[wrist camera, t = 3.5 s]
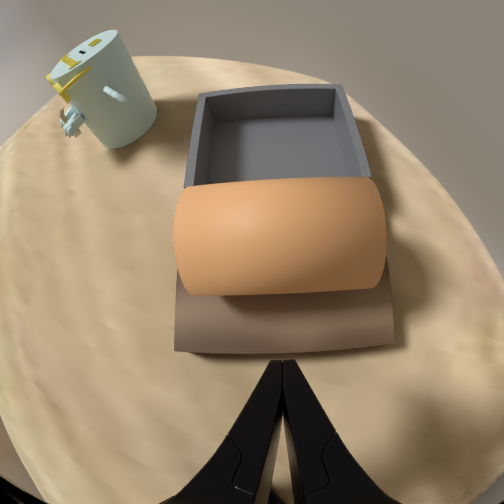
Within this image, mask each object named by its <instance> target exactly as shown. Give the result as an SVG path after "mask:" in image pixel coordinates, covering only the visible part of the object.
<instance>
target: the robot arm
mask: <svg viewBox="0 0 504 504" xmlns="http://www.w3.org/2000/svg"><path fill="white" fill-rule="evenodd" d="M282 417H283V420H284V428H285V435H286V443H287V450H288V458H289V466H290V473H291V481H292V489H293V497H294V504H402V503H400V502H398V501H396V500H394V499H393V498H391V497H389V496H388V495H387V494H385V493H384V492H383V491H382V490H381V489H380V488H379V487H378V486H377V485H376V484H375V483H374V481H373V480H372V479H371V478H370V477H369V476H368V474H367V473H366V472H365V471H364V470H363V469H362V467H361V466H360V465H359V464H358V463H357V461H356V460H355V459H354V457H353V456H352V455H351V454H350V452H349V451H348V449H347V448H346V446H345V445H344V443H343V442H342V440H341V438H340V437H339V435H338V433H337V432H336V430H335V428H334V427H333V425H332V423H331V421H330V420H329V418H328V416H327V415H326V413H325V411H324V409H323V408H322V406H321V404H320V403H319V401H318V399H317V397H316V396H315V394H314V392H313V390H312V389H311V387H310V385H309V383H308V382H307V380H306V378H305V377H304V375H303V373H302V371H301V370H300V368H299V366H298V364H297V362H296V361H295V360H294V359H290V360H283V362H282V360H271V361H270V362H269V364H268V366H267V367H266V369H265V371H264V373H263V375H262V376H261V378H260V380H259V382H258V384H257V385H256V387H255V389H254V391H253V392H252V394H251V396H250V398H249V399H248V401H247V403H246V404H245V406H244V408H243V409H242V411H241V413H240V414H239V416H238V418H237V419H236V421H235V423H234V424H233V426H232V428H231V429H230V431H229V433H228V435H226V437H225V439H224V440H223V442H222V443H221V445H220V446H219V448H218V449H217V451H216V452H215V453H214V455H213V456H212V457H211V458H210V460H209V461H208V462H207V463H206V464H205V466H204V467H203V468H202V469H201V470H200V471H199V472H198V473H197V474H196V475H195V476H194V478H193V479H192V480H191V481H190V482H189V483H188V484H187V485H186V486H185V487H184V488H183V489H182V490H181V491H180V492H179V493H177V494H176V495H175V496H172V497H170V498H169V499H167V500H165V501H163V502H161V503H159V504H286V503H285V502H284V501H283V500H282V499H281V498H280V497H279V496H278V495H277V494H276V493H275V492H274V491H273V490H272V489H271V483H272V477H273V472H274V467H275V461H276V455H277V450H278V444H279V438H280V431H281V425H282ZM0 504H49V503H47V502H45V501H43V500H42V499H40V498H38V497H37V496H35V495H33V494H31V493H30V492H28V491H26V490H25V489H23V488H21V487H20V486H18V485H17V484H15V483H13V482H12V481H10V480H9V479H7V478H6V477H4V476H3V475H2V474H0ZM499 504H504V500H503V501H502V502H500V503H499Z"/></svg>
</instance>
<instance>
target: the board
mask: <svg viewBox="0 0 504 504" xmlns="http://www.w3.org/2000/svg"><path fill="white" fill-rule="evenodd" d="M392 343H395V335H394V319H393V306H392V296H391V286H390V278H389V270H388V263H387V256H386V260H385V265H384V270H383V273H382V276H381V279H380V281H379V282H378V284H377V285H376V286H375V287H374V288H369V289H356V290H342V291H327V292H309V293H289V294H263V295H226V296H193V295H191V294H190V293H188V291H187V290H186V289H185V287H184V285H183V283H182V281H181V278H180V275H179V271H178V268H177V284H176V304H175V338H174V351H179V352H196V353H224V354H272V353H299V352H317V351H330V350H342V349H352V348H361V347H370V346H378V345H385V344H392Z"/></svg>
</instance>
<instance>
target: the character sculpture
mask: <svg viewBox="0 0 504 504" xmlns="http://www.w3.org/2000/svg"><path fill="white" fill-rule="evenodd" d="M46 78H47V79H48V81H49V82H50V83H51V85H52V86H53V87H54V89H55V90H56V91H57V92H58V93H59V95H60V96H61V97H62V98H63V99H64V100H65V102H66V103H67V104H68V103H70V105H71V107H70V108H69V109H68V111H67V112H66V113H65V114H64V107H63V108H62V109H61V110H60V118H61V121H60V122H61V127H62V128H63V127H64V131H65V136H66V137H67V136H69V138H70V137H71V136H73V135H74V136H75V137H76V138H77V137H78V136H79V135H80V134H81V131H80V129H79V127H80V126H81V125H82V124H84V122H85V124H86V125H87V126H88V127H89V129H90V130H91V131H92V132H93V134H94V135H95V136H96V137H97V138H98V140H99V141H100V142H101V143H102V144H103V146H105V147H107V148H109V149H117V148H121V147H124V146H126V145H128V144H131V143H133V142H134V141H136V140H137V139H138V138H140V137H141V136H143V135H144V134H145V133H146V132H147V131H148V130H149V129H150V128H151V126H152V124H153V123H154V121H155V120H156V117H157V107H156V105H155V103H154V101H153V99H152V97H151V96H150V94H149V92H148V90H147V88H146V86H145V84H144V82H143V80H142V78H141V76H140V74H139V72H138V70H137V68H136V66H135V65H134V63H133V61H132V59H131V57H130V55H129V53H128V51H127V49H126V47H125V45H124V43H123V41H122V39H121V37H120V35H119V33H118V31H116V30H109V31H106V32H102V33H100V34H98V35H96V36H94V37H92V38H90V39H88V40H87V41H85V42H83V43H82V44H80V45H79V46H78V47H76V48H75V49H73V50H72V51H71V52H70V53H68V54H67V55H65V56H64V57H63V58H62V59H61V60H60V62H59V63H58V64H57V65H56V66H55V68H54V69H53V70H52V72H51V73H50V74H49V75H48V76H46Z"/></svg>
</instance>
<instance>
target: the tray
mask: <svg viewBox="0 0 504 504" xmlns="http://www.w3.org/2000/svg"><path fill="white" fill-rule="evenodd" d="M309 177H369V178H370V179H371V178H372V176H371V172H370V168H369V164H368V161H367V157H366V154H365V150H364V147H363V144H362V141H361V137H360V134H359V131H358V128H357V125H356V122H355V119H354V116H353V113H352V110H351V108H350V105H349V102H348V100H347V97H346V94H345V92H344V89H343V87H342V85H341V84H286V85H268V86H255V87H245V88H236V89H228V90H221V91H214V92H207V93H201V94H199V96H198V101H197V107H196V112H195V117H194V123H193V128H192V134H191V140H190V146H189V153H188V159H187V166H186V173H185V181H184V189H185V188H186V187H189V186H198V185H207V184H217V183H228V182H240V181H253V180H267V179H285V178H309Z"/></svg>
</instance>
